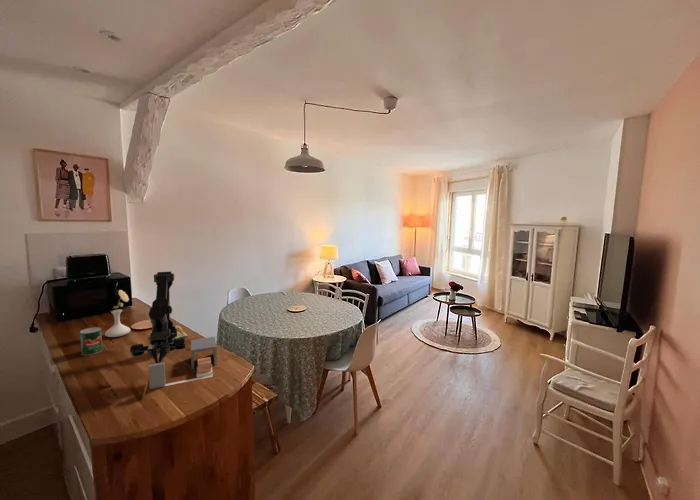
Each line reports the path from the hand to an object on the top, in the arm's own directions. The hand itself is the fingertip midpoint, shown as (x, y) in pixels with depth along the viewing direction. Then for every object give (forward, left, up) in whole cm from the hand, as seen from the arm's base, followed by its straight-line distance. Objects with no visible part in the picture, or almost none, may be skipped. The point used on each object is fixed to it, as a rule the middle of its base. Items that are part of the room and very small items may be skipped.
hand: (158, 367), depth 119 cm
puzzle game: (-44, +22, -8) cm, 50 cm away
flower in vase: (-72, +6, -7) cm, 72 cm away
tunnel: (-4, +20, -7) cm, 21 cm away
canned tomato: (-56, -9, -7) cm, 57 cm away
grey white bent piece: (+4, +8, -7) cm, 11 cm away
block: (+6, +15, -6) cm, 18 cm away
